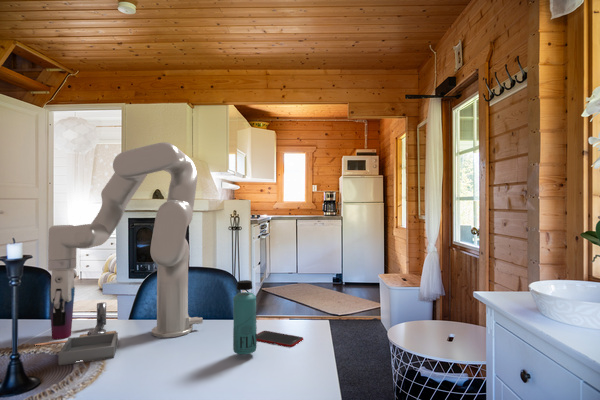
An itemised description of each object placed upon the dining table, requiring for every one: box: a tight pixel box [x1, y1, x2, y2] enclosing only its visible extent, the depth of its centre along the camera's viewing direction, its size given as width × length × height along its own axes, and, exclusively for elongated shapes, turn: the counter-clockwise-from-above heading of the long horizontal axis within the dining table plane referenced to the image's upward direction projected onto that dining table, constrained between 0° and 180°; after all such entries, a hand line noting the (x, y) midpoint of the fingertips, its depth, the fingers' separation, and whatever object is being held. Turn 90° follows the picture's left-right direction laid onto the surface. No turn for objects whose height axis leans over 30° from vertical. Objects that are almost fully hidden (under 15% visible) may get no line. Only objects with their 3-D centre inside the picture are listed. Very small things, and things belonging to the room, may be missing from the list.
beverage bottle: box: [232, 279, 258, 355], centre depth 102 cm, size 6×7×20 cm
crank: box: [86, 301, 107, 336], centre depth 122 cm, size 16×5×7 cm, turn 21°
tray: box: [58, 332, 119, 366], centre depth 104 cm, size 13×13×3 cm
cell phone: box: [256, 330, 304, 348], centre depth 115 cm, size 8×15×1 cm, turn 61°
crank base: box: [34, 330, 117, 347], centre depth 114 cm, size 21×8×1 cm, turn 111°
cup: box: [48, 286, 76, 341], centre depth 118 cm, size 7×7×15 cm
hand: (61, 321), depth 118 cm, fingers closed on cup, 6 cm apart
